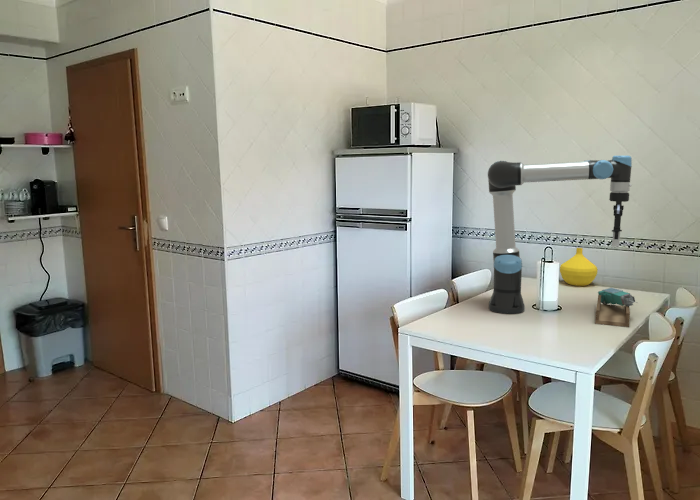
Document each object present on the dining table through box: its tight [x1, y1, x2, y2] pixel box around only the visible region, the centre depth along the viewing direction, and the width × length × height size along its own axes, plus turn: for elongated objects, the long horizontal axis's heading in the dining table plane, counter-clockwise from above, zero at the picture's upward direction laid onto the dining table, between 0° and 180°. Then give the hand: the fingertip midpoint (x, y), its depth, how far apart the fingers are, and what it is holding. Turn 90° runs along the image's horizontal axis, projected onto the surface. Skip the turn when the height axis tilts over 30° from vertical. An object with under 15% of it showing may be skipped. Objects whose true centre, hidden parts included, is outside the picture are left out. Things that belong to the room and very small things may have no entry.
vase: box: [559, 247, 599, 287], centre depth 287 cm, size 18×18×19 cm
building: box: [597, 287, 638, 307], centre depth 229 cm, size 6×6×30 cm
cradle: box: [594, 294, 631, 328], centre depth 228 cm, size 12×28×6 cm, turn 154°
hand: (615, 246), depth 238 cm, fingers closed
